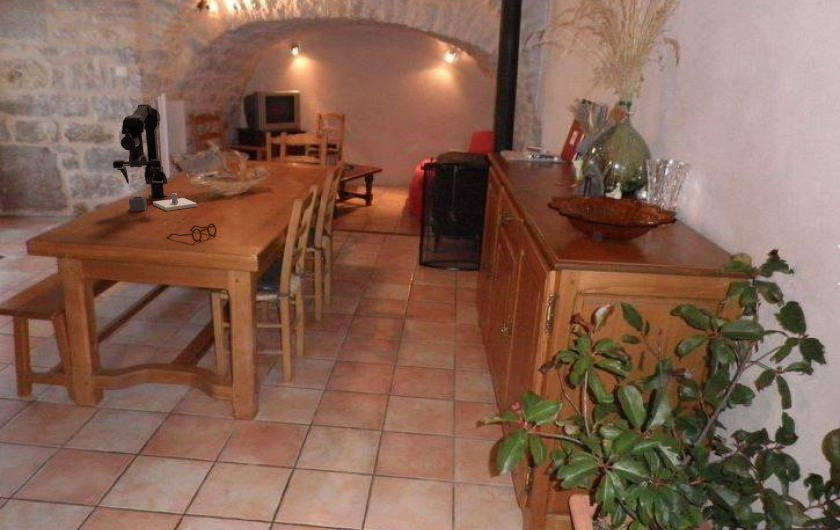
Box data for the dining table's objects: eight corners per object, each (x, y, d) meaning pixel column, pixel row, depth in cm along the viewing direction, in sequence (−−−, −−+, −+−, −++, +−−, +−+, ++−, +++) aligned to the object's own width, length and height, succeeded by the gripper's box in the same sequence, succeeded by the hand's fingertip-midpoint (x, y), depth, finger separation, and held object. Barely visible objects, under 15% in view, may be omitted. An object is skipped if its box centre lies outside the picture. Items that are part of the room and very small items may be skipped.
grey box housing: (130, 210, 274) (128, 199, 272) (132, 207, 279) (131, 196, 277) (145, 210, 275) (143, 198, 273) (147, 207, 281) (145, 195, 279)
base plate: (153, 205, 285) (151, 192, 283) (183, 201, 294) (182, 189, 293) (166, 210, 276) (165, 198, 274) (197, 206, 285) (196, 194, 283)
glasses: (194, 243, 232) (193, 230, 231) (166, 239, 237) (164, 226, 235) (217, 235, 244) (216, 222, 242) (190, 230, 248) (189, 218, 247)
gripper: (109, 150, 259) (113, 187, 264) (158, 149, 264) (161, 186, 269) (113, 146, 269) (117, 182, 274) (160, 146, 275) (163, 181, 279)
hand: (139, 183), depth 274 cm, fingers open, 9 cm apart
